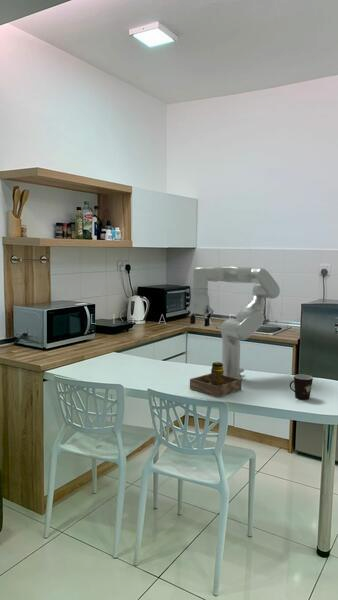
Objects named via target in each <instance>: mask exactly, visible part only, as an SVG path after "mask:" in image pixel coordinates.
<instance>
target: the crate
mask: <svg viewBox="0 0 338 600" xmlns="http://www.w3.org/2000/svg"><path fill="white" fill-rule="evenodd" d="M242 382H243V381H242V379H237V378H233V377H229V376H225V375H223V385H220V386H215V385H212V384H211V372H210V373H208V374H207V373H206V374H204V375H201V376H200V375H199V376H196V377H192V378H189V390H192V391H196V392H198V393H203V394H206V395H209V396H212V397H215V398H220V397H223V396H226V395H230V394H232V393H235V391H236V392H239V391H242ZM238 390H239V391H238Z"/></svg>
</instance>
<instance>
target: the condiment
mask: <svg viewBox="0 0 338 600" xmlns="http://www.w3.org/2000/svg"><path fill="white" fill-rule="evenodd" d="M210 371H211V372H210V373H211V384H212V385H215V386H220V385H223V372H224V370H223V364H222V362H219V361H218V362H212V364H211V370H210Z"/></svg>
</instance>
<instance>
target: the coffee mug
mask: <svg viewBox="0 0 338 600" xmlns="http://www.w3.org/2000/svg"><path fill="white" fill-rule="evenodd" d="M313 379H314V377H313V376H312V375H307V374H301V373H300V374H294V375H293V380H291V381H290V383H289V388H290V390H291V391H292V392H294V396H295V397H294V398H295V399H297V400H301V401H307V400H310V397H311V391H312V385H313V381H314V380H313ZM292 384H294V389H293V387H292Z"/></svg>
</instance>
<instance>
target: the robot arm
mask: <svg viewBox="0 0 338 600" xmlns="http://www.w3.org/2000/svg"><path fill="white" fill-rule="evenodd" d="M192 271H193V272H192V273H193V274H192V289H191V292H192V293H191V295H190V301H189V306H187V307H186V309H187V313H188V315H189V318H190V319H189V321H190V323H189V324H190V325H196V315H201V316H203V317H204V320H203V321H204V322H203V323H204V327H210V324H211V323H210V321H211V320H210V319H211V318H212V317H213V314H214V312H215V311H214V310H213V308H212V307H210V296H209V293H208V289H209V282H215V283H217V282H225V283H232V284H233V283H234V284H254V285H253V287H252V297H251V300H250V301H249V302H248V303H247V304H246V305H245V306H243V308H241V309H240V310H239V311H238V312H237V314H236V317H235V319H225V320H224V321H223V322H222V323H221V326H220V332H221V333H220V334H221V340H222V348H221V351H222V353H221V363H222V364H223V370H224V372H223V375H225V376H229V377H233V378H237V379H240V380H242V379H243V375H242V374H241V373H243V372H245V368H243V367H242V368H241V367H240V365H241V343H240V342H241V341H245V340H247V339H249V338H250V337H251V336H252V335H253V334H254V333H255V332H256V331H258V330H260V328H261V327H262V325H263V324H264V322H265V321H264V320H265V315H264V314H263V312H264V310H265V305H266V304H265V303H266V301H265V299H269V300H270V299H271V300H272V299H273V300H274V299H277V298H278V297H279V295H280V292H281V288H280V286H279V283H277V281H276V280H275V278H274V277H273V276H272V274H270V272H269V271H268V270H266V269H265V268H263V267H253V266H252V267H248V266H205V265H204V266H203V267H202V266H201V267H200V266H199V267H194V268H193V269H192Z"/></svg>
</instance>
